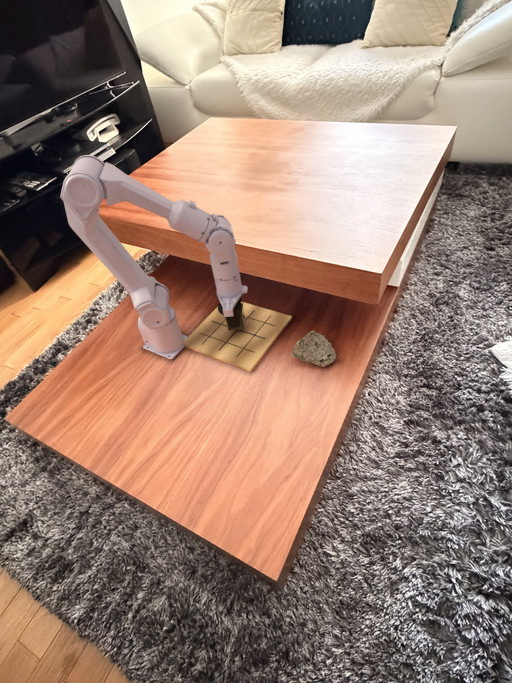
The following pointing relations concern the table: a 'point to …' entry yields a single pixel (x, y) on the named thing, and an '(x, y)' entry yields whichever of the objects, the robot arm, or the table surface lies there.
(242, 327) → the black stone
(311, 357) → the rock sample
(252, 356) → the game board
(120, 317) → the table surface
